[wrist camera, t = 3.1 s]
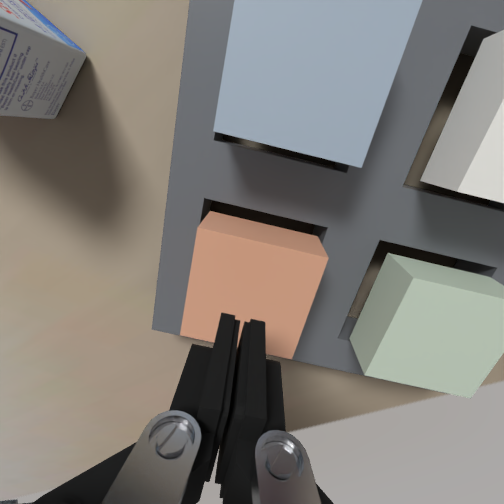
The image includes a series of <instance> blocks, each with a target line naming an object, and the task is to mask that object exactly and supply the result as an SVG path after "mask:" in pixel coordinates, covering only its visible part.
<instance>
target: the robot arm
mask: <svg viewBox="0 0 504 504" xmlns="http://www.w3.org/2000/svg"><path fill="white" fill-rule="evenodd" d="M239 327H240V320H236V319H235V315H232V314H227V313H222V312H221V316H220V321H219V325H218V329H217V333H216V337H215V342H214V346H213V348H210V347H205V346H201V345H196V344H192V346H191V349H190V352H189V354H188V357H187V360H186V363H185V366H184V369H183V372H182V375H181V378H180V381H179V384H178V386H177V389H176V392H175V395H174V398H173V401H172V404H171V407H170V410H169V411H166V412H163V413H161V414H158V415H157V416H156V417H154V418H153V419H151V421H150V422H149V423H148V425H147V426H146V427H145V429H144V431H143V432H142V434H141V436H140V437H139V439H138V441H137V442H136V443H134V444H132V445H131V446H129V447H127V448H125V449H124V450H122V451H120V452H118V453H117V454H115V455H113V456H111V457H110V458H108V459H106V460H104V461H103V462H101V463H99V464H97V465H96V466H94V467H92V468H90V469H89V470H87V471H85V472H83V473H82V474H80V475H78V476H76V477H75V478H73V479H71V480H69V481H68V482H66V483H64V484H62V485H61V486H59V487H57V488H55V489H54V490H52V491H50V492H48V493H47V494H45V495H43V496H42V497H40V498H39V499H38V500H36V501H35V502H32V503H22V504H196V503H197V502H198V501H199V500H200V497H201V493H202V489H203V485H204V482H205V481H206V482H209V481H210V478H211V474H212V471H213V467H214V463H215V460H216V456H217V453H218V449H219V456H218V462H217V469H216V477H215V483H218V484H221V490H220V498H223V504H333V502H332V501H331V500H330V499H329V498H328V497H327V496H326V494H325V493H324V492H323V491H322V490H321V489H320V487H319V486H318V485H317V484H316V483H315V479H314V475H313V472H312V469H311V464H310V461H309V458H308V455H307V453H306V450H305V448H304V447H303V446H302V444H301V443H300V441H298V440H297V439H296V438H295V437H294V436H293V435H291V434H289V433H287V432H286V430H285V417H284V404H283V391H282V378H281V366H280V362H278V361H273V360H268V359H266V331H265V322H264V321H259V320H255V319H250V322H244V325H243V329H242V332H241V336H240V340H239V344H238V347H237V343H238V335H239ZM219 446H220V448H219ZM0 504H18V500H17V499H16V500H5V501H0Z"/></svg>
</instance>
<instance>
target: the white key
mask: <svg viewBox="0 0 504 504" xmlns="http://www.w3.org/2000/svg"><path fill="white" fill-rule="evenodd" d="M420 181H422V182H426V183H429V184H433V185H436V186H439V187H443V188H446V189H450V190H453V191H457V192H461V193H465V194H469V195H473V196H477V197H481V198H485V199H489V200H493V201H497V202H501V203H504V30H502V31H500V32H498V33H496V34H493V35H491V36H489V37H487V38H484V39H483V41H482V43H481V46H480V48H479V50H478V52H477V55H476V57H475V59H474V61H473V64H472V66H471V68H470V70H469V72H468V75H467V77H466V79H465V81H464V84H463V86H462V88H461V90H460V93H459V95H458V97H457V99H456V102H455V104H454V106H453V108H452V110H451V113H450V115H449V117H448V119H447V122H446V124H445V126H444V128H443V131H442V133H441V135H440V137H439V139H438V142H437V144H436V146H435V148H434V151H433V153H432V155H431V157H430V160H429V162H428V164H427V166H426V169H425V171H424V173H423V175H422V177H421V180H420Z"/></svg>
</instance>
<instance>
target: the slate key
mask: <svg viewBox="0 0 504 504" xmlns="http://www.w3.org/2000/svg"><path fill="white" fill-rule="evenodd" d="M421 3H422V0H234V6H233V13H232V19H231V25H230V31H229V37H228V43H227V49H226V56H225V62H224V68H223V74H222V80H221V86H220V92H219V98H218V105H217V111H216V117H215V123H214V129H213V131H214V132H218V133H222V134H226V135H230V136H234V137H238V138H243V139H247V140H251V141H255V142H259V143H263V144H267V145H271V146H275V147H279V148H283V149H287V150H291V151H295V152H299V153H303V154H307V155H311V156H315V157H319V158H323V159H327V160H331V161H335V162H339V163H344V164H348V165H352V166H356V167H360V168H362V165H363V163H364V160H365V157H366V154H367V152H368V149H369V146H370V143H371V141H372V138H373V135H374V132H375V130H376V127H377V124H378V121H379V119H380V116H381V113H382V110H383V108H384V105H385V102H386V99H387V97H388V94H389V91H390V88H391V86H392V83H393V80H394V77H395V75H396V72H397V69H398V66H399V64H400V61H401V58H402V55H403V53H404V50H405V47H406V44H407V42H408V39H409V36H410V33H411V31H412V28H413V25H414V22H415V20H416V17H417V14H418V11H419V9H420V6H421Z"/></svg>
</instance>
